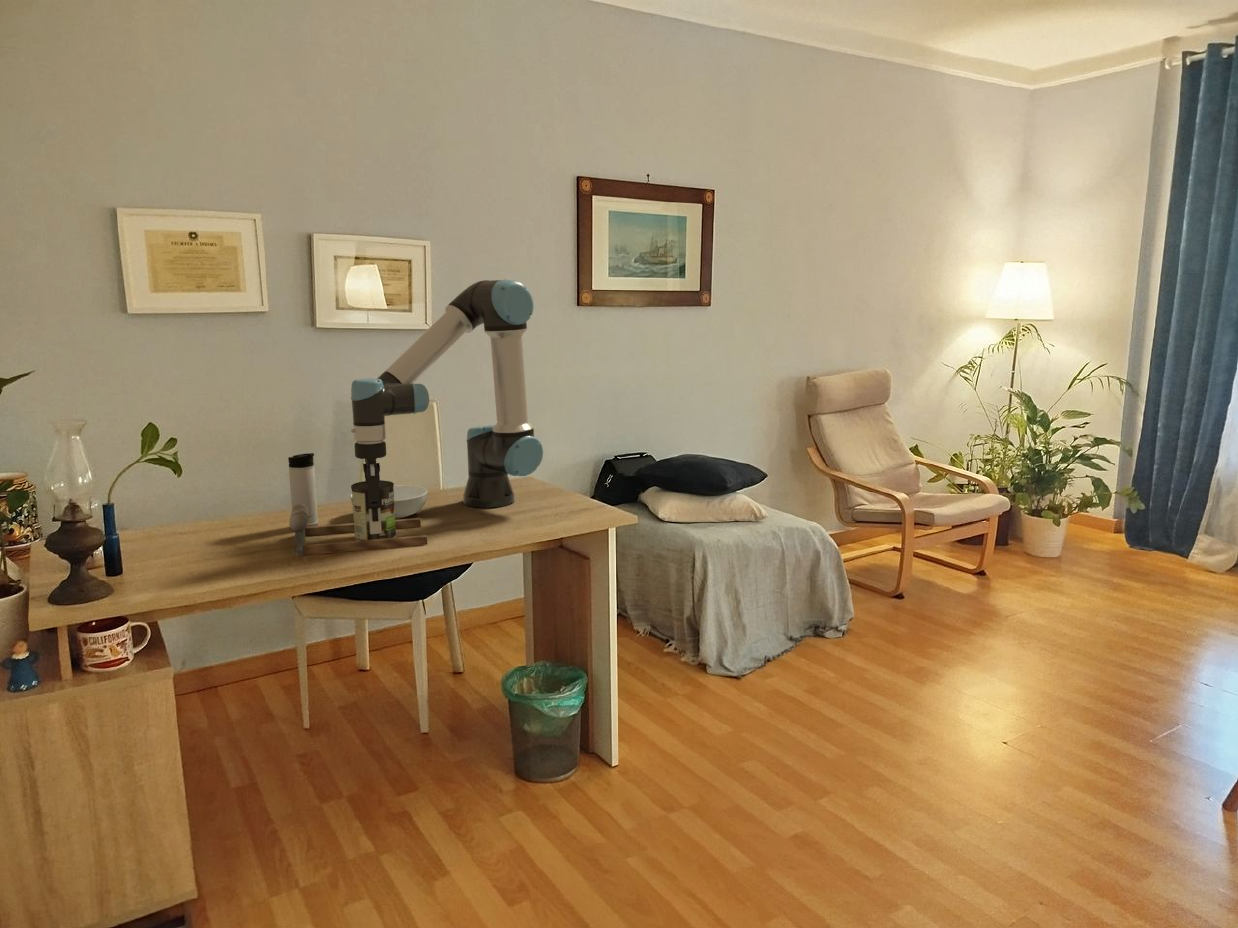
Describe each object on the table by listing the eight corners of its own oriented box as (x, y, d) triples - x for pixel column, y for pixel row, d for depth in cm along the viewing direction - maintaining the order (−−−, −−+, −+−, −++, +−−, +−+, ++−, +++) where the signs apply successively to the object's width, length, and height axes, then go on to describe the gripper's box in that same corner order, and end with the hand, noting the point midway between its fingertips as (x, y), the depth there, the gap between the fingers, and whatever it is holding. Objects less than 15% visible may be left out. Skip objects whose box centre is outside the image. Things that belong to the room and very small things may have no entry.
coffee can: (403, 533, 220) (400, 480, 218) (385, 545, 211) (382, 489, 208) (366, 531, 222) (362, 479, 220) (346, 543, 212) (343, 487, 210)
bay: (420, 525, 229) (418, 492, 227) (427, 544, 211) (425, 509, 209) (294, 535, 219) (291, 501, 217) (290, 556, 201) (287, 519, 200)
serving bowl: (426, 505, 251) (425, 482, 250) (430, 523, 231) (429, 498, 230) (352, 510, 246) (351, 486, 244) (350, 528, 226) (349, 503, 224)
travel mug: (311, 530, 223) (305, 455, 219) (288, 529, 225) (282, 454, 221) (324, 524, 229) (319, 451, 226) (301, 523, 231) (296, 450, 227)
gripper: (353, 435, 221) (358, 518, 225) (355, 449, 200) (360, 541, 204) (383, 433, 223) (387, 515, 228) (388, 448, 202) (393, 538, 206)
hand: (374, 527), depth 216 cm, fingers closed on coffee can, 10 cm apart
